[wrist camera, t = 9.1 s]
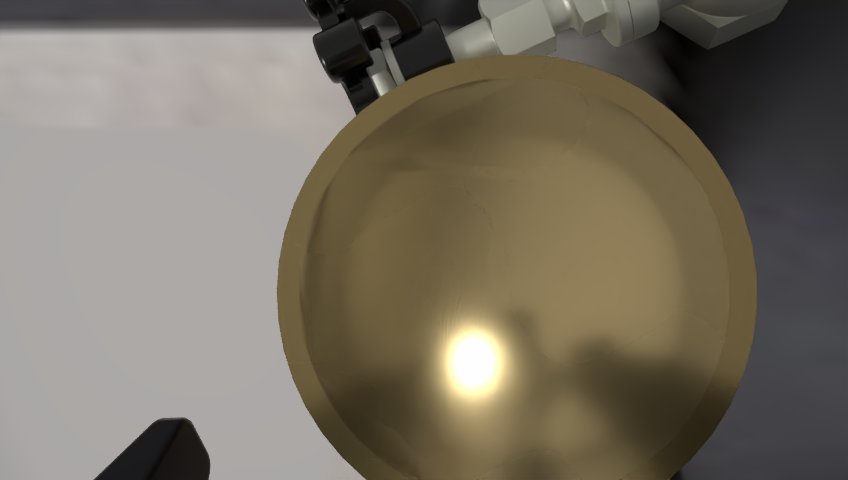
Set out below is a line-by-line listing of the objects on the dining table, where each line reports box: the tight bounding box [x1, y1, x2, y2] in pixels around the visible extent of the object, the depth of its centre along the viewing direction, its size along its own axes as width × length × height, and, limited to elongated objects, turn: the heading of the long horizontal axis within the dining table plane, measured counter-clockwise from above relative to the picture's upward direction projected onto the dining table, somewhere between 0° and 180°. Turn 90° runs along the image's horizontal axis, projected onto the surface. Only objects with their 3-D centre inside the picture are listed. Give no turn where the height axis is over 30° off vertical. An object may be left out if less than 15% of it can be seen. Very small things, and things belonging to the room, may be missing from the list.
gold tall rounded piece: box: [277, 55, 757, 480], centre depth 14 cm, size 5×5×13 cm
